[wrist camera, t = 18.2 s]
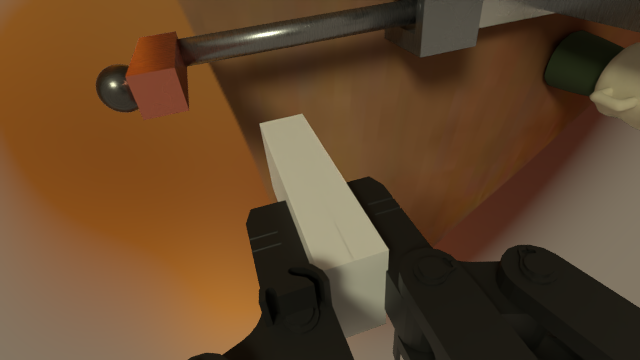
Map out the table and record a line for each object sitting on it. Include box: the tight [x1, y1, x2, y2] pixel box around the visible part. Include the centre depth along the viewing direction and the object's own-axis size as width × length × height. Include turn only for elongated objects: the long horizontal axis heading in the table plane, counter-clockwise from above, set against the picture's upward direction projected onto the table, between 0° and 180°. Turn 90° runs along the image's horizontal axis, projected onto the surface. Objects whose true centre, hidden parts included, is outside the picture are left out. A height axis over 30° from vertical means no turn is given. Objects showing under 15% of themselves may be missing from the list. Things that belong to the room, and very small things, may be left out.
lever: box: [96, 0, 417, 120], centre depth 24 cm, size 3×24×8 cm, turn 96°
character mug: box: [544, 30, 640, 130], centre depth 36 cm, size 11×7×13 cm, turn 98°
